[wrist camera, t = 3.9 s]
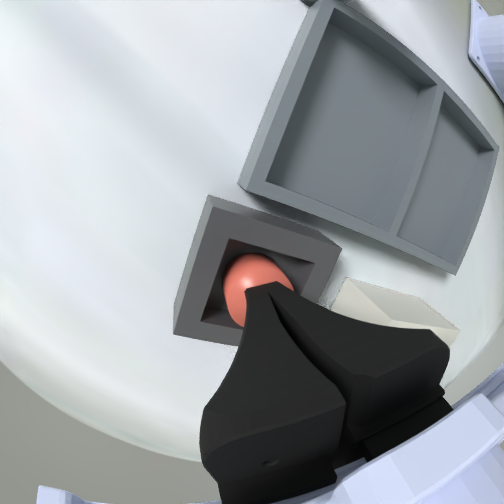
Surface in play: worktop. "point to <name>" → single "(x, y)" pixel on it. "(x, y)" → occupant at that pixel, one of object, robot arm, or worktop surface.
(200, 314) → the box
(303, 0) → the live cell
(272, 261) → the tester button
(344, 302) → the cup
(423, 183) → the tray
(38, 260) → the worktop surface
